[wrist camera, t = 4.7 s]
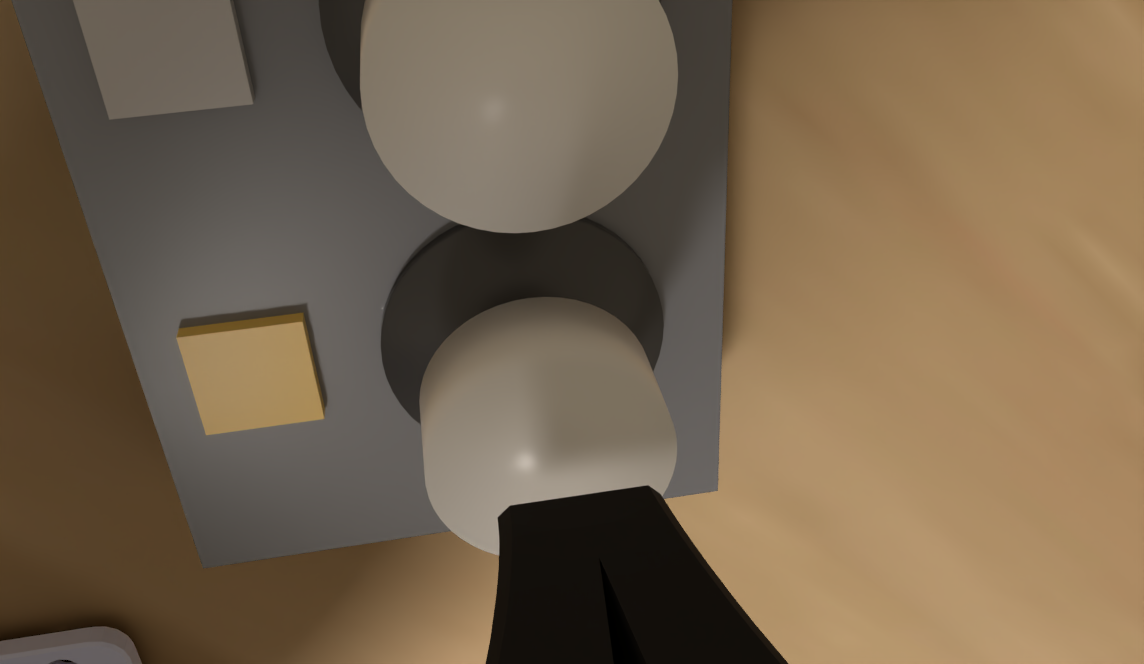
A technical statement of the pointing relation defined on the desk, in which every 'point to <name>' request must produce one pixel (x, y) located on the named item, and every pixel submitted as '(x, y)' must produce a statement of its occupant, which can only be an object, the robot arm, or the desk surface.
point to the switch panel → (343, 258)
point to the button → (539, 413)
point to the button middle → (516, 103)
